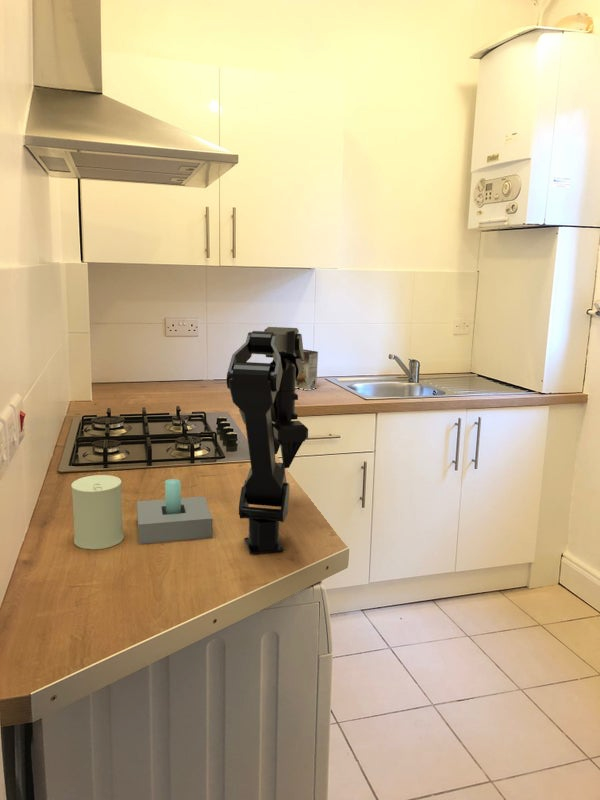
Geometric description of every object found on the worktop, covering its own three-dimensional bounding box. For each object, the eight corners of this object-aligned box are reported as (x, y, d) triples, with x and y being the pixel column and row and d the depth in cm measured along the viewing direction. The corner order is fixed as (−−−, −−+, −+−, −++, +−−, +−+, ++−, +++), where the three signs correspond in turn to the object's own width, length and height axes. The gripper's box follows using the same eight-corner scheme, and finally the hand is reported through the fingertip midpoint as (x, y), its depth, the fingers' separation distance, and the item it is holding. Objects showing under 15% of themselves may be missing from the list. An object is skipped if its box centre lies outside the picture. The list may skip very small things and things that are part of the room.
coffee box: (290, 388, 271) (291, 349, 267) (300, 385, 275) (301, 348, 272) (307, 391, 265) (308, 352, 261) (317, 389, 270) (318, 350, 266)
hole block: (212, 537, 126) (212, 518, 125) (139, 544, 123) (138, 524, 122) (204, 513, 138) (204, 496, 137) (137, 519, 134) (136, 501, 133)
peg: (181, 530, 129) (181, 483, 127) (166, 532, 128) (165, 484, 126) (180, 524, 132) (179, 478, 130) (165, 525, 131) (164, 479, 129)
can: (76, 553, 119) (72, 491, 116) (72, 533, 127) (68, 475, 124) (127, 545, 122) (125, 485, 120) (120, 526, 130) (117, 470, 128)
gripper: (233, 381, 138) (233, 450, 142) (253, 400, 121) (253, 479, 124) (283, 379, 141) (281, 447, 145) (310, 397, 124) (307, 474, 128)
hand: (280, 460), depth 135 cm, fingers open, 9 cm apart
